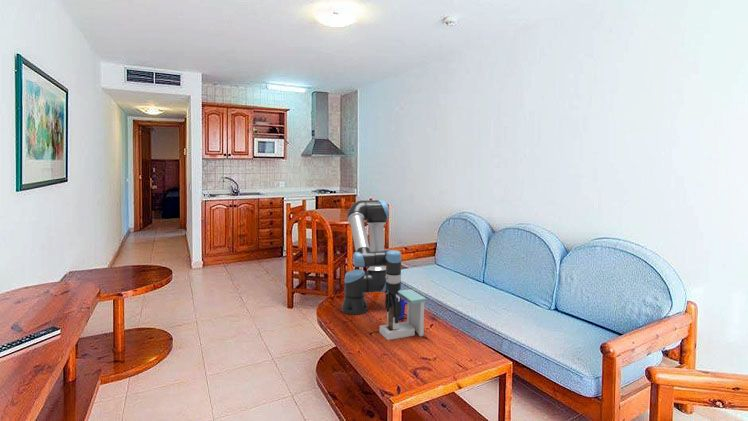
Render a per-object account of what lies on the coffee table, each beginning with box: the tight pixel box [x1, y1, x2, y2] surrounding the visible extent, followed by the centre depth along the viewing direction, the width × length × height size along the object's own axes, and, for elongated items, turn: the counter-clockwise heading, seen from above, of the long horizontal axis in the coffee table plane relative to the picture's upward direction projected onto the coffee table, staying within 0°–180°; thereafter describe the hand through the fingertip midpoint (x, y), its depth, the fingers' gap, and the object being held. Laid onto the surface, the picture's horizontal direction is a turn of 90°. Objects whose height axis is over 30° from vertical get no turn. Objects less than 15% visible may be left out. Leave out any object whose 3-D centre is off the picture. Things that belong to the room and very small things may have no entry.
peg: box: [389, 307, 396, 331], centre depth 201 cm, size 4×4×14 cm
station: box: [379, 288, 427, 341], centre depth 203 cm, size 16×20×20 cm
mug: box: [392, 298, 407, 320], centre depth 223 cm, size 8×12×10 cm
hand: (392, 326), depth 201 cm, fingers open, 6 cm apart
